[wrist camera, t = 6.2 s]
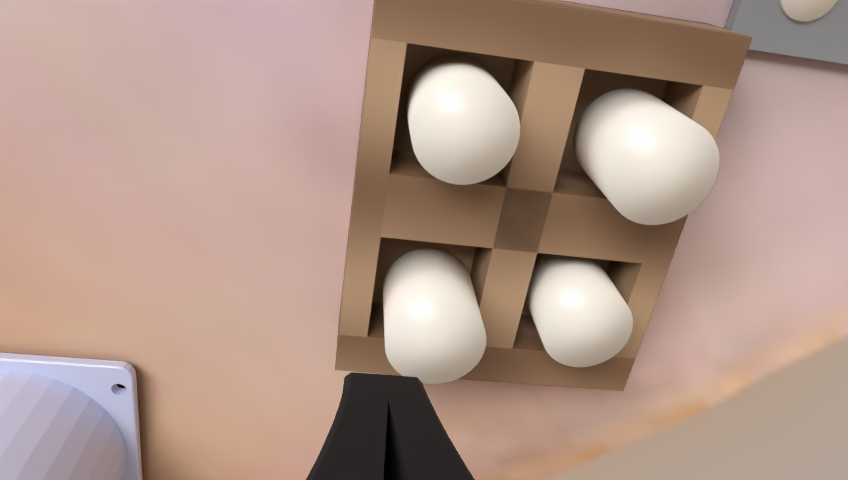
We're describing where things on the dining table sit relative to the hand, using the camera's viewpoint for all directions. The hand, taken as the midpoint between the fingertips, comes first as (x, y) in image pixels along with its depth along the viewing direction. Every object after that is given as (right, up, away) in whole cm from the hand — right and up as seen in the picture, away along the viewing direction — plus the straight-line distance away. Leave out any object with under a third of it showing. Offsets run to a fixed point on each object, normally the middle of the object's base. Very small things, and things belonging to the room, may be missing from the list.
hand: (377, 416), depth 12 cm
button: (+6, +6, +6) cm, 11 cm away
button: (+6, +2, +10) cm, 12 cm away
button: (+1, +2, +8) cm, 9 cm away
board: (+4, +5, +9) cm, 11 cm away
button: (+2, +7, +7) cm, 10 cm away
